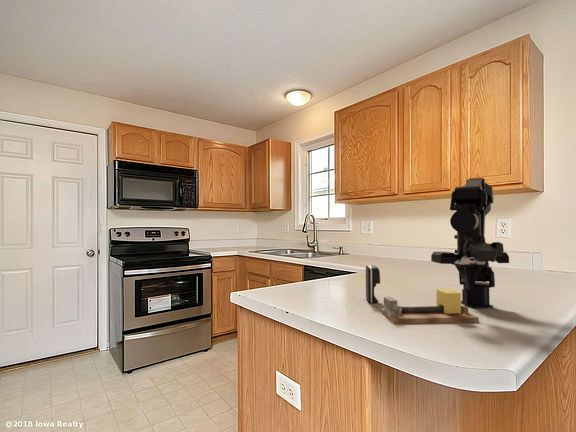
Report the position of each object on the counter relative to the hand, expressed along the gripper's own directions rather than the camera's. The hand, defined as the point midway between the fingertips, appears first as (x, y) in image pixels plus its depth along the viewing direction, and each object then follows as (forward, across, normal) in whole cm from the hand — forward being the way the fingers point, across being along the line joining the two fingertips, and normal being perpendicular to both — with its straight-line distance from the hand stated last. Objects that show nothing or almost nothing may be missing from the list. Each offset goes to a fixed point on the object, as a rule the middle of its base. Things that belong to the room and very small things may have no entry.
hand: (469, 289), depth 86 cm
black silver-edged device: (+8, -21, +18) cm, 29 cm away
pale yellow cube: (+6, -6, 0) cm, 8 cm away
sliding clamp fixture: (+7, -12, 0) cm, 14 cm away
